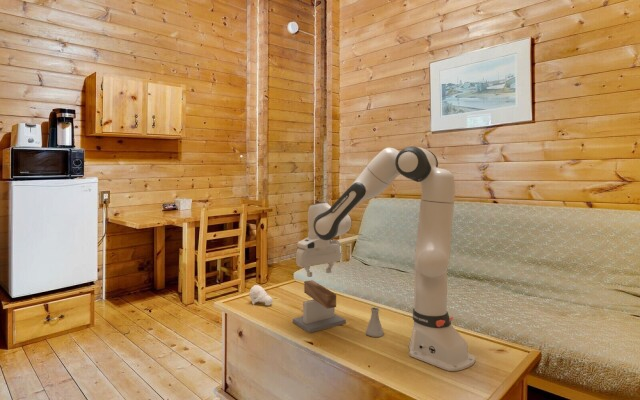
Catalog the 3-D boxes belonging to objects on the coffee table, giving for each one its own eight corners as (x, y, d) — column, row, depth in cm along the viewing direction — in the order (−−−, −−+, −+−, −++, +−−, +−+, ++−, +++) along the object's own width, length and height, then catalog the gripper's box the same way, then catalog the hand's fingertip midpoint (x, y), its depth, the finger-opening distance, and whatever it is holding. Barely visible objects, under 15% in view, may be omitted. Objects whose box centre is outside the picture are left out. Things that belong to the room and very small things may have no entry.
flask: (363, 336, 147) (363, 310, 147) (367, 328, 154) (367, 304, 153) (382, 338, 145) (382, 313, 144) (385, 331, 152) (386, 306, 151)
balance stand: (345, 323, 160) (345, 299, 159) (309, 333, 150) (309, 308, 149) (327, 313, 171) (327, 291, 170) (292, 322, 161) (292, 299, 160)
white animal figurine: (256, 282, 188) (276, 288, 182) (255, 299, 189) (275, 305, 183) (248, 286, 182) (268, 292, 177) (247, 303, 183) (267, 310, 178)
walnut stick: (312, 291, 170) (312, 280, 170) (336, 307, 150) (336, 294, 150) (304, 292, 168) (304, 281, 168) (327, 308, 149) (327, 296, 148)
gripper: (334, 237, 166) (335, 269, 167) (293, 243, 155) (294, 277, 156) (343, 239, 161) (344, 272, 162) (301, 245, 150) (302, 280, 151)
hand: (319, 274), depth 159 cm, fingers open, 8 cm apart
